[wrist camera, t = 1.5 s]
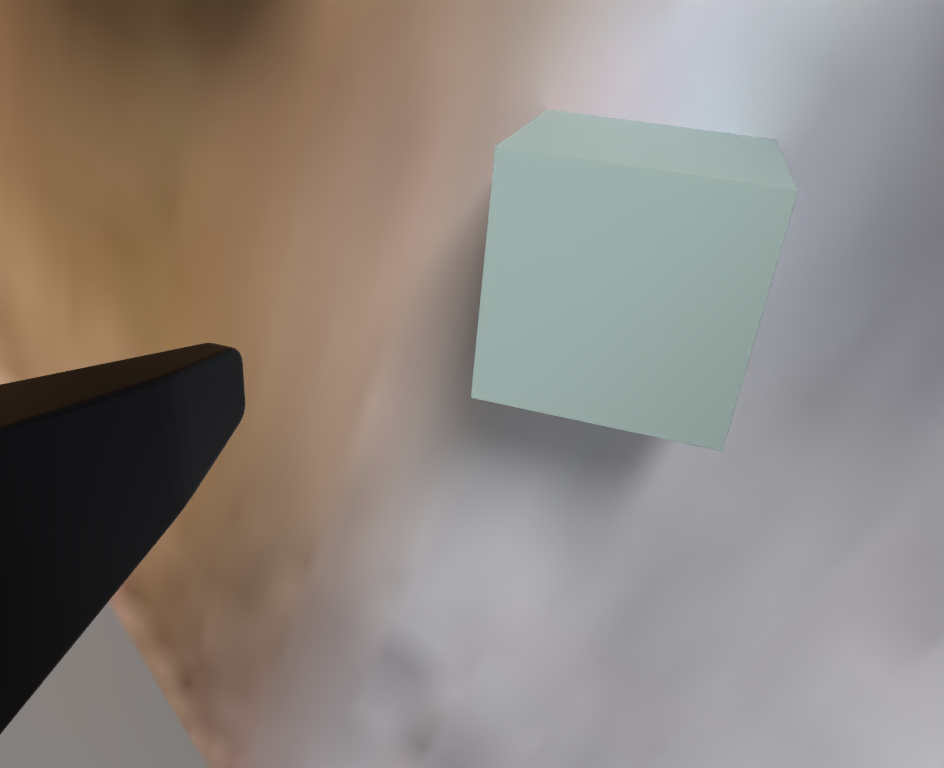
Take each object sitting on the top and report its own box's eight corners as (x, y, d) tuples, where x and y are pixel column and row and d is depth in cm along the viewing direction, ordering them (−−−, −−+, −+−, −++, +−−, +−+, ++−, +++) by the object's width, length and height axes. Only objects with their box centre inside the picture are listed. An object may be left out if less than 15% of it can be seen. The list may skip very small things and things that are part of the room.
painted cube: (775, 139, 16) (798, 189, 12) (719, 347, 19) (722, 451, 14) (548, 109, 17) (495, 146, 13) (522, 310, 20) (470, 397, 15)
